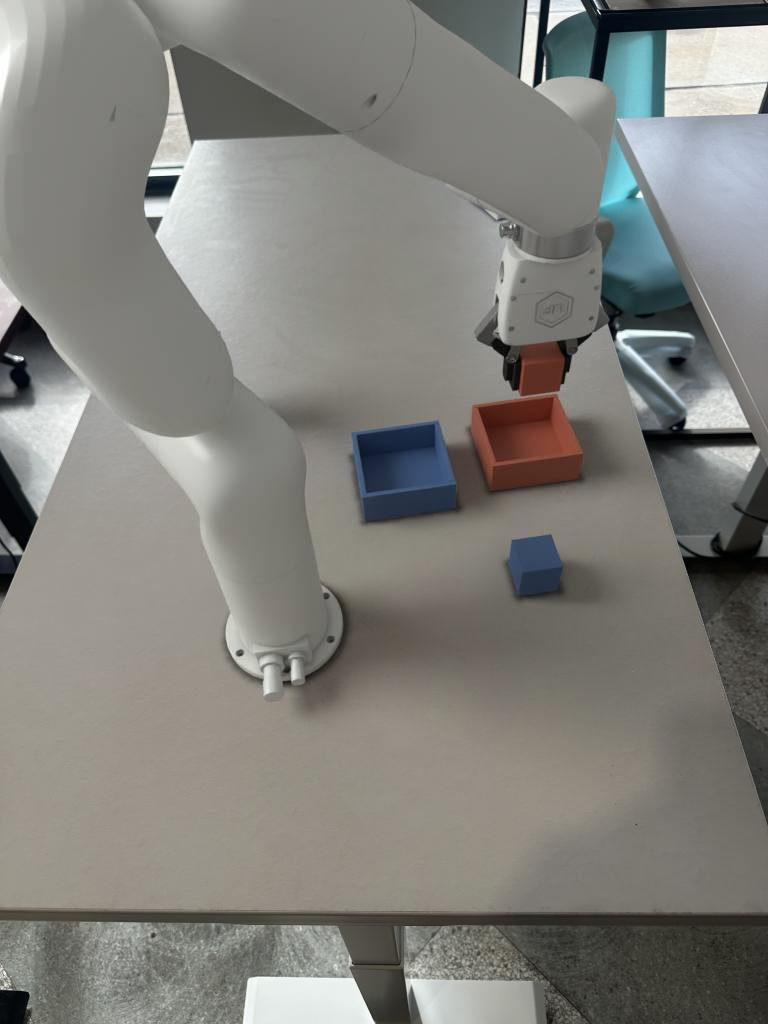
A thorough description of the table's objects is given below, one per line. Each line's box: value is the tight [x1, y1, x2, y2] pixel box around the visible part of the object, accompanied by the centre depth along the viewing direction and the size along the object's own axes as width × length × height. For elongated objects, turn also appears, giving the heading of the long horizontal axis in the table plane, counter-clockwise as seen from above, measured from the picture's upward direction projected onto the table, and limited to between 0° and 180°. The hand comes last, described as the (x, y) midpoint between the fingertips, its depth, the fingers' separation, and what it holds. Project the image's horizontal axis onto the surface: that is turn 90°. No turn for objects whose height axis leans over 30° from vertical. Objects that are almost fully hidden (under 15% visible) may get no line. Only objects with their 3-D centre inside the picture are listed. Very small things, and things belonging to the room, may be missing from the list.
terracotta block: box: [517, 341, 565, 397], centre depth 81 cm, size 4×4×4 cm
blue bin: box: [351, 420, 458, 523], centre depth 90 cm, size 11×11×4 cm
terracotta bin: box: [470, 393, 585, 492], centre depth 93 cm, size 11×11×4 cm
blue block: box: [507, 533, 564, 597], centre depth 80 cm, size 4×4×4 cm
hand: (534, 378), depth 82 cm, fingers closed on terracotta block, 4 cm apart
